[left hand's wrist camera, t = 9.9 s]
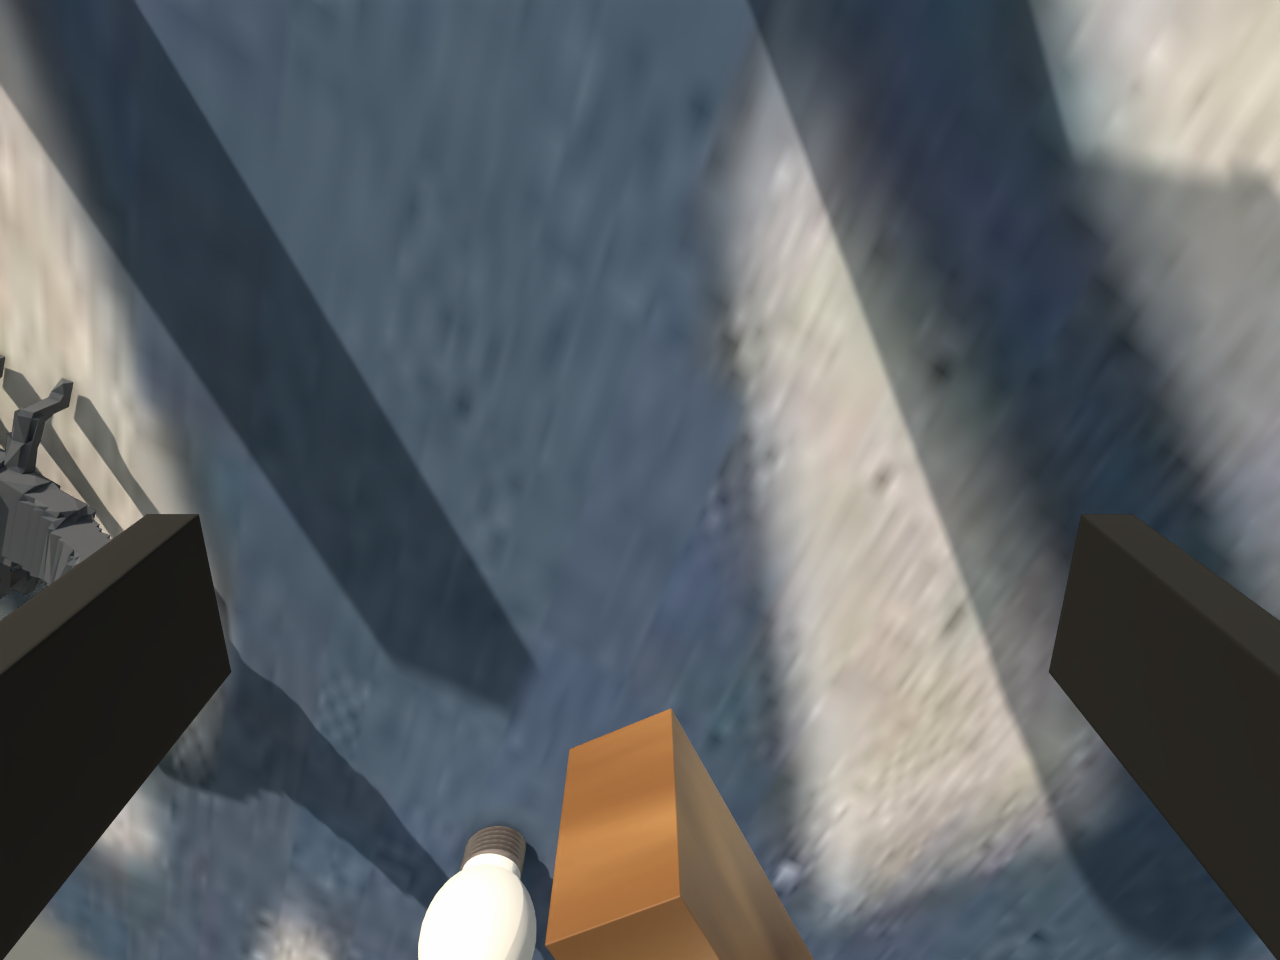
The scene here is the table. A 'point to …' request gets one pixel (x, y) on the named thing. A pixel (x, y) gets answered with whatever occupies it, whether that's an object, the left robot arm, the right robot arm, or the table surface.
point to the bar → (657, 859)
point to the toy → (39, 506)
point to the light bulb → (483, 904)
